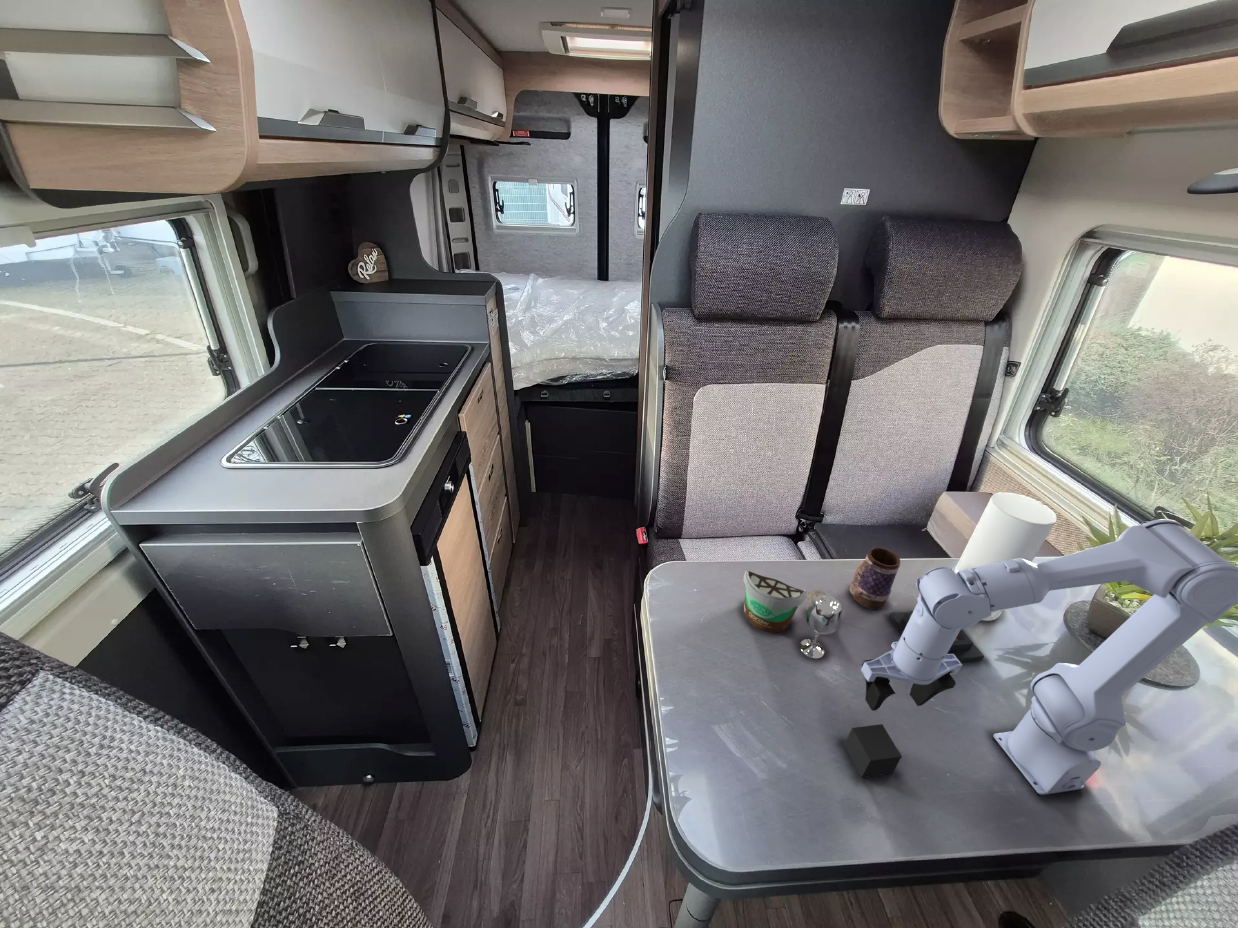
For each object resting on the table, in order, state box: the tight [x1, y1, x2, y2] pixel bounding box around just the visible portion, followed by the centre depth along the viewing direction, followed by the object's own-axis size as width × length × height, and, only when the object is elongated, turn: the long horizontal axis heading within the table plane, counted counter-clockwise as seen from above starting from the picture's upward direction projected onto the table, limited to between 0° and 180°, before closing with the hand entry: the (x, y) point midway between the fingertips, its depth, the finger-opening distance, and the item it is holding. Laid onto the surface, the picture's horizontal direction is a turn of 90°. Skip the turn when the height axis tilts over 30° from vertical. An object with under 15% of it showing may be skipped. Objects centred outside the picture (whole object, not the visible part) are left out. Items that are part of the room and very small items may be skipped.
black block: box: [843, 723, 903, 778], centre depth 81 cm, size 5×5×5 cm
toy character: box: [806, 589, 827, 609], centre depth 106 cm, size 4×8×6 cm, turn 13°
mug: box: [849, 546, 901, 610], centre depth 109 cm, size 10×7×12 cm
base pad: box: [888, 610, 985, 663], centre depth 103 cm, size 12×12×3 cm
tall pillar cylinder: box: [954, 491, 1058, 622], centre depth 107 cm, size 11×11×25 cm
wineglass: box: [799, 594, 843, 660], centre depth 97 cm, size 6×6×12 cm
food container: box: [743, 567, 808, 633], centre depth 102 cm, size 12×6×10 cm, turn 62°
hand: (893, 702), depth 81 cm, fingers open, 7 cm apart
